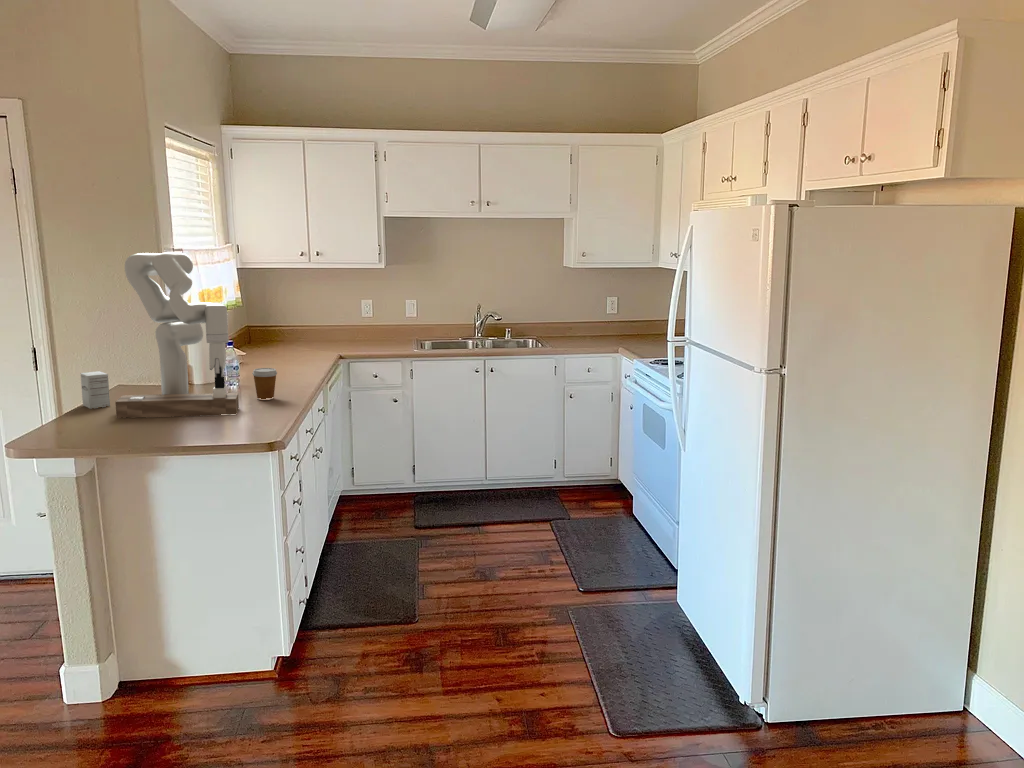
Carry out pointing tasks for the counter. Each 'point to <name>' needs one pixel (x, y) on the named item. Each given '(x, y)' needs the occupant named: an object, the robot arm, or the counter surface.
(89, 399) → the supplement box
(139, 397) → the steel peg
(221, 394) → the white peg
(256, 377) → the disposable coffee cup
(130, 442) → the counter surface
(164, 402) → the walnut block
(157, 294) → the robot arm
